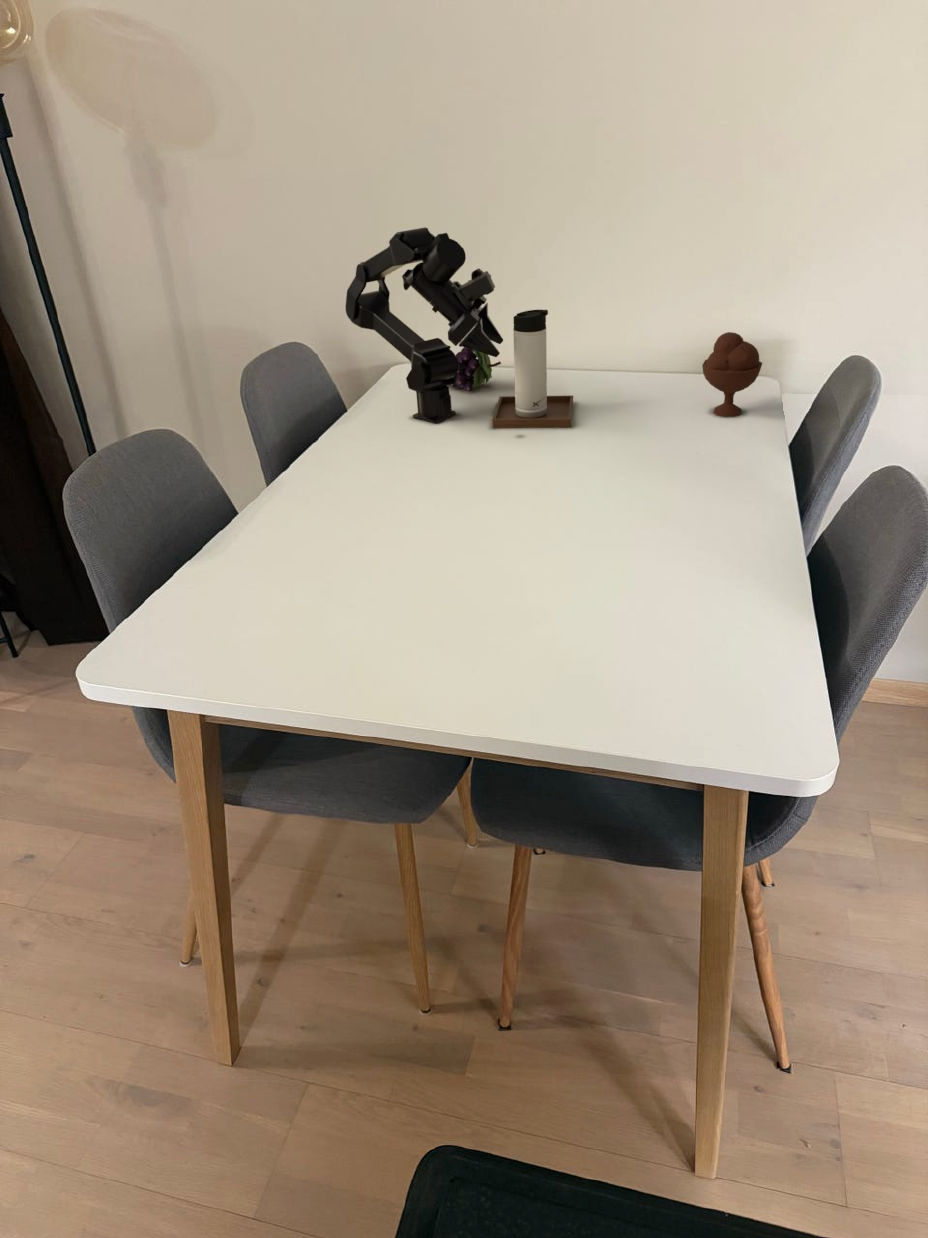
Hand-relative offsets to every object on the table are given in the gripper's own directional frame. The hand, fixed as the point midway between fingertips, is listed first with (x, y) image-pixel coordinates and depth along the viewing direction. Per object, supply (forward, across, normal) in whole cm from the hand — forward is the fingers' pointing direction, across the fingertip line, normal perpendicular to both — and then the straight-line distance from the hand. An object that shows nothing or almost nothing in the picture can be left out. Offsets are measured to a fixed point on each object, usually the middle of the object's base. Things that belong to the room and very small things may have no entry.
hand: (500, 348), depth 174 cm
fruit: (+4, +19, +16) cm, 25 cm away
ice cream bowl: (+41, 0, -21) cm, 46 cm away
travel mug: (+14, 0, +5) cm, 15 cm away
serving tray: (+14, +1, +5) cm, 15 cm away
